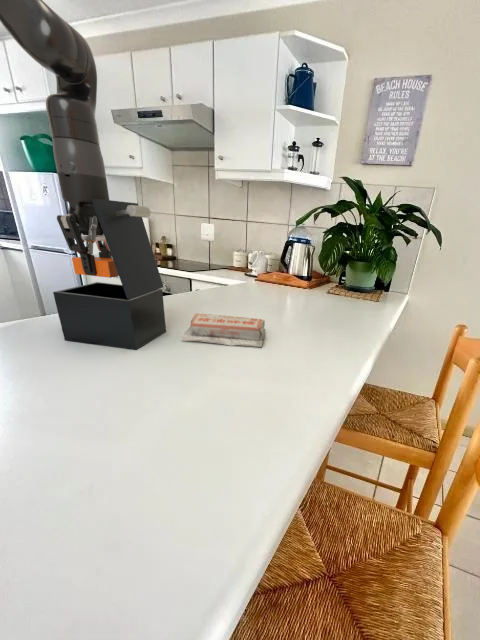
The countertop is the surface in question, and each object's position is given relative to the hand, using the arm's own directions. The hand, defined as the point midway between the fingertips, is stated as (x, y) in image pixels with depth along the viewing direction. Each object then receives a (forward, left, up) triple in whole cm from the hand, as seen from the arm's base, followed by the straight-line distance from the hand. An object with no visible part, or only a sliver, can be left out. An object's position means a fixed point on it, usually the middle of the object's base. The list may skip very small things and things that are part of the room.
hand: (99, 272), depth 65 cm
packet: (0, 0, 0) cm, 0 cm away
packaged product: (+24, +7, -13) cm, 28 cm away
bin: (+2, 0, -13) cm, 13 cm away
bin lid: (+7, 0, +5) cm, 9 cm away
